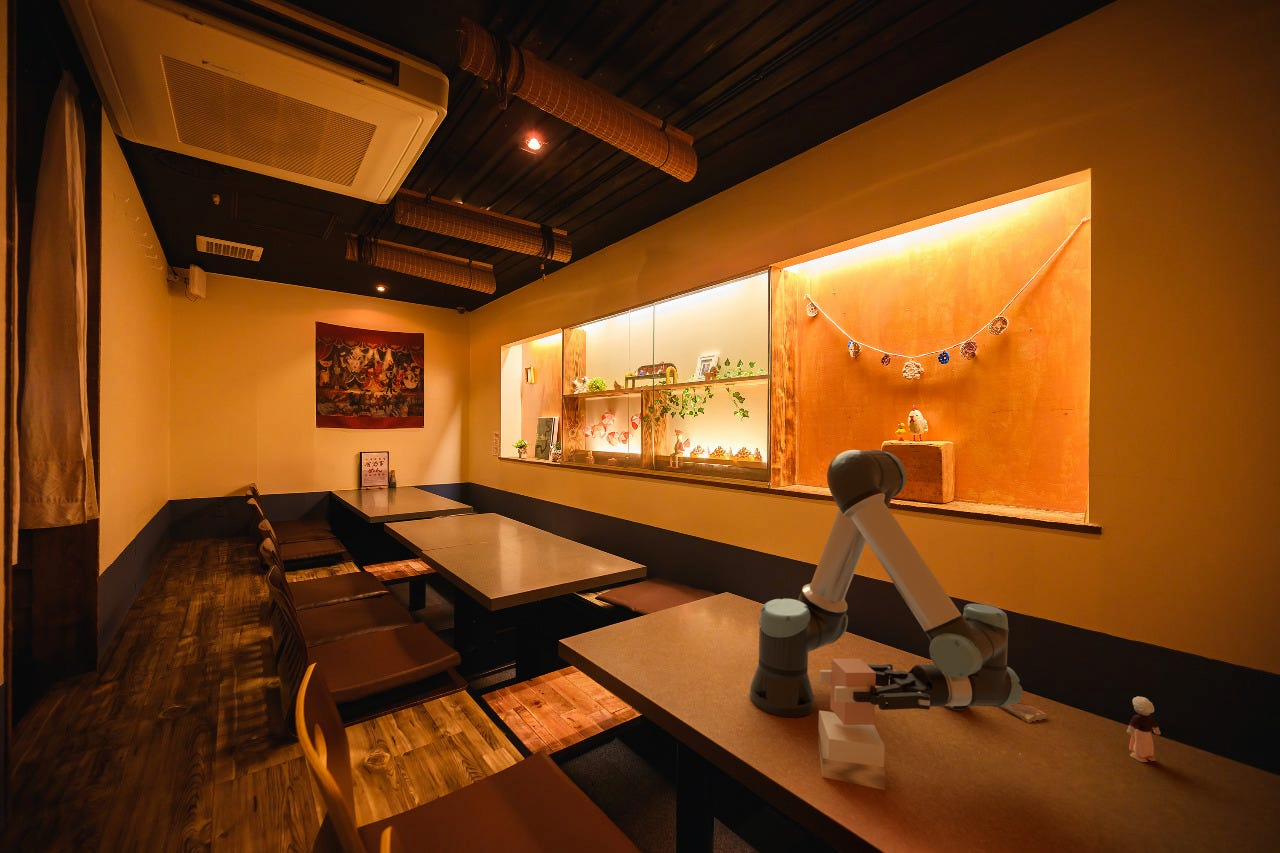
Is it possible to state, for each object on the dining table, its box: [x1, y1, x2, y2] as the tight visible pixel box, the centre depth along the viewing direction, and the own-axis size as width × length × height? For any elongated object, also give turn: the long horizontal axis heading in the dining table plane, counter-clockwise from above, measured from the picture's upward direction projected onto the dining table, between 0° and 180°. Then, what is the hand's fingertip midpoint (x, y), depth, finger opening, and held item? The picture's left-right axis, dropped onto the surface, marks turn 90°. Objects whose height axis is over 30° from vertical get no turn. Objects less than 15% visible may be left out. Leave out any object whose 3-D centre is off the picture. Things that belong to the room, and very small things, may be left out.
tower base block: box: [817, 732, 886, 791], centre depth 101 cm, size 11×11×4 cm
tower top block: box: [817, 709, 886, 767], centre depth 100 cm, size 10×10×4 cm
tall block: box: [829, 658, 876, 726], centre depth 100 cm, size 6×6×10 cm
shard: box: [998, 702, 1048, 724], centre depth 124 cm, size 11×8×2 cm
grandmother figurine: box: [1126, 696, 1161, 763], centre depth 106 cm, size 8×4×13 cm, turn 110°
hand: (827, 685), depth 100 cm, fingers closed on tall block, 6 cm apart
